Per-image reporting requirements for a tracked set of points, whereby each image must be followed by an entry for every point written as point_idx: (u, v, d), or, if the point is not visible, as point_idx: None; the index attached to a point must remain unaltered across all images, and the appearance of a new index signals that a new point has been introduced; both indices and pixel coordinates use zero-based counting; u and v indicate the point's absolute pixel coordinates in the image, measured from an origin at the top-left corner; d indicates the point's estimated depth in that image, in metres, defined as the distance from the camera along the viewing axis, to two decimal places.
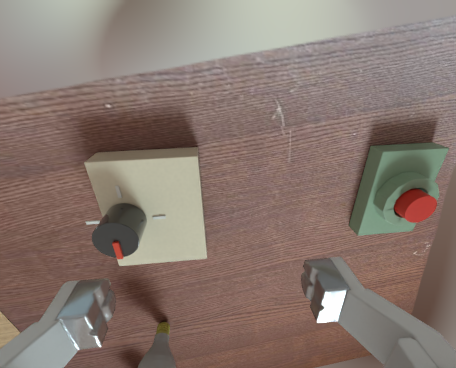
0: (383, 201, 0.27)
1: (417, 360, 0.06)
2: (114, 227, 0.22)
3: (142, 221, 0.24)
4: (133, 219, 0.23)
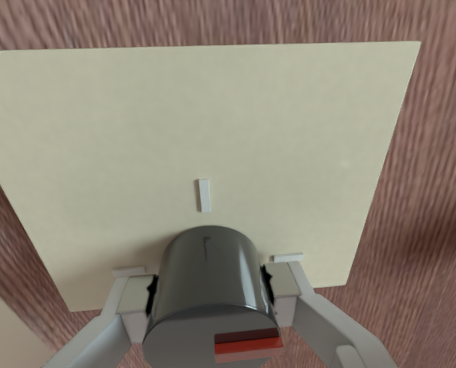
0: None
1: None
2: (159, 349, 0.07)
3: (196, 249, 0.08)
4: (166, 281, 0.08)
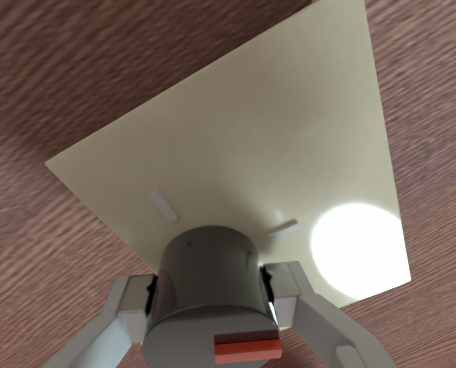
0: None
1: None
2: (158, 349, 0.07)
3: (197, 248, 0.08)
4: (166, 281, 0.08)
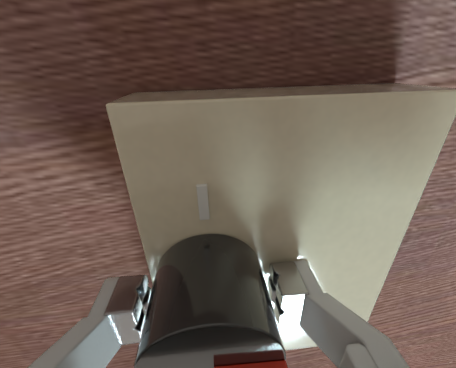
0: None
1: (362, 367, 0.06)
2: None
3: (196, 259, 0.08)
4: (162, 295, 0.07)
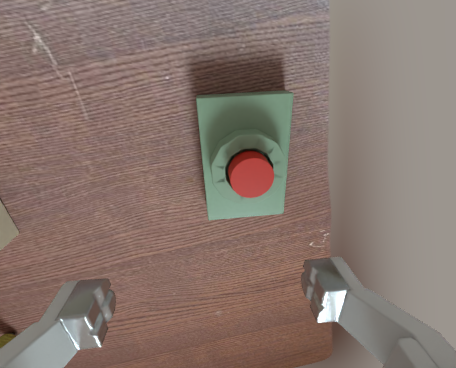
0: (211, 170, 0.20)
1: (417, 360, 0.06)
2: None
3: None
4: None
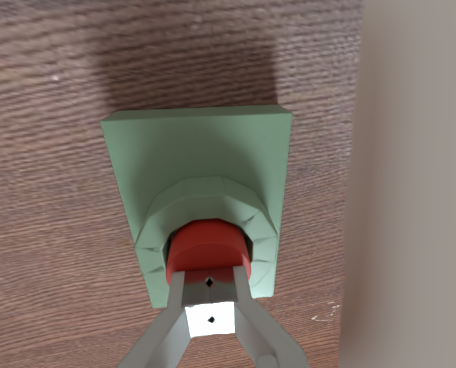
0: None
1: None
2: None
3: None
4: None
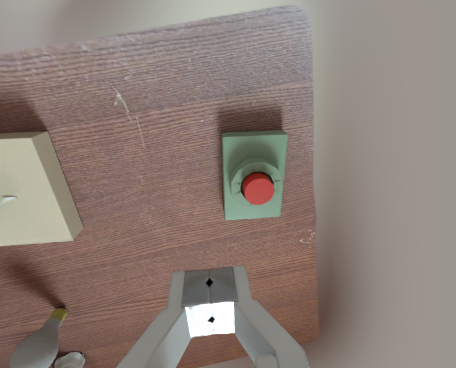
0: (230, 185, 0.28)
1: None
2: None
3: None
4: None
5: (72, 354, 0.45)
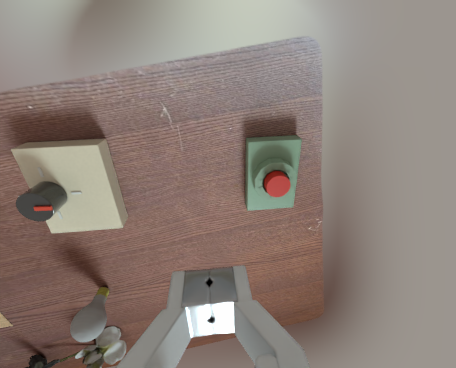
0: (254, 181, 0.34)
1: None
2: (20, 206, 0.30)
3: (36, 185, 0.31)
4: (25, 192, 0.30)
5: (110, 328, 0.52)
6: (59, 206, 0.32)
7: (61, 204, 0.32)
